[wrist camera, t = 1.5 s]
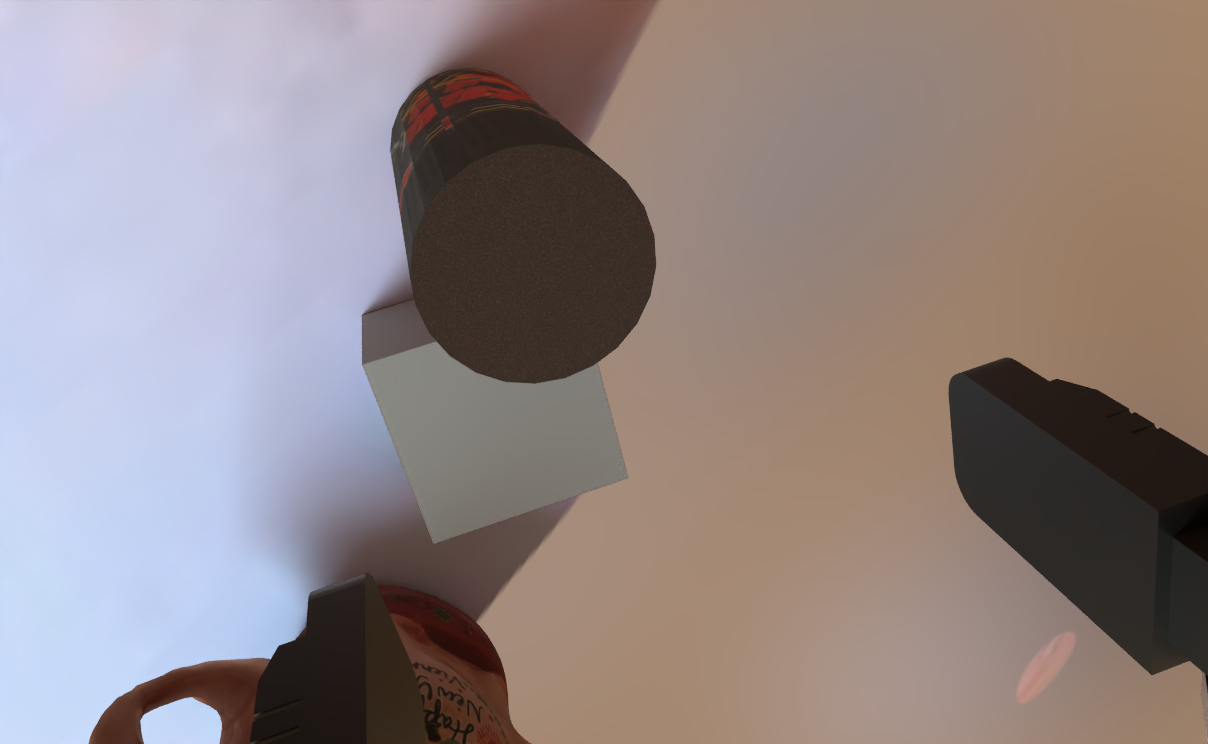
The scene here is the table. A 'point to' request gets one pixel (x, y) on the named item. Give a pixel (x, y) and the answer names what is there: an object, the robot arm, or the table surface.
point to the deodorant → (515, 231)
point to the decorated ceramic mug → (435, 648)
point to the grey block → (484, 429)
